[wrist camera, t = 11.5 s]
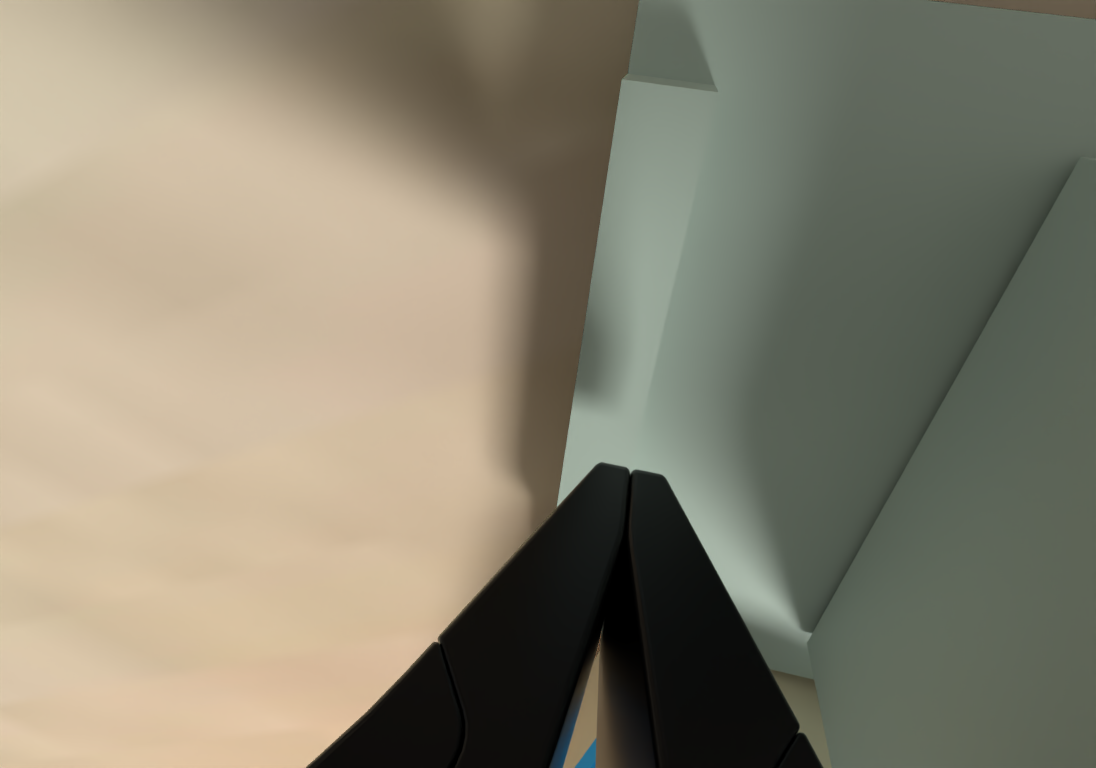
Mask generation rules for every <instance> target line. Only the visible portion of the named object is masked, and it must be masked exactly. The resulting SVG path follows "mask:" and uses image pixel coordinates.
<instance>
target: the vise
mask: <svg viewBox="0 0 1096 768" xmlns="http://www.w3.org/2000/svg"><path fill="white" fill-rule="evenodd" d="M1080 157H1088V158H1095V159H1096V19H1088V18H1079V17H1071V16H1062V15H1053V14H1044V13H1035V12H1027V11H1018V10H1009V9H1000V8H992V7H983V6H974V5H965V4H956V3H948V2H939V1H930V0H639V4H638V10H637V17H636V23H635V30H634V36H633V43H632V49H631V55H630V62H629V68H628V74H627V75H626V76H625V77H624V78H623V79H622V81H621V87H620V94H619V101H618V107H617V114H616V120H615V127H614V133H613V140H612V147H611V153H610V160H609V166H608V173H607V179H606V186H605V193H604V199H603V206H602V212H601V219H600V225H599V232H598V239H597V245H596V252H595V258H594V265H593V272H592V278H591V285H590V291H589V298H588V304H587V311H586V318H585V324H584V331H583V337H582V344H581V350H580V357H579V364H578V370H577V377H576V383H575V390H574V396H573V403H572V410H571V416H570V423H569V429H568V436H567V443H566V449H565V456H564V462H563V469H562V475H561V482H560V489H559V495H558V502H557V507H558V505H559V504H560V503H561V502H562V501H563V500H564V499H565V498H566V497H567V496H568V495H569V493H570V492H571V491H572V490H573V489H574V488H575V487H576V486H577V485H578V484H579V483H580V481H581V480H582V479H583V478H584V477H585V476H586V475H587V474H588V473H589V472H590V471H591V469H592V468H593V467H594V466H595V465H596V464H598V463H600V462H605V463H609V464H614V465H619V466H624V467H627V468H628V469H629V471H630V474H631V472H632V471H633V470H635V469H639V470H643V471H648V472H653V473H658V474H661V475H663V476H664V477H665V478H666V479H667V481H668V483H669V484H670V486H671V488H672V490H673V492H674V494H675V496H676V497H677V499H678V501H679V503H680V505H681V507H682V508H683V510H684V512H685V514H686V516H687V518H688V519H689V521H690V523H691V525H692V527H693V529H694V531H695V532H696V534H697V536H698V538H699V540H700V542H701V543H702V545H703V547H704V549H705V551H706V553H707V554H708V556H709V558H710V560H711V562H712V564H713V566H714V567H715V569H716V571H717V573H718V575H719V577H720V578H721V580H722V582H723V584H724V586H725V588H726V589H727V591H728V593H729V595H730V597H731V599H732V601H733V602H734V604H735V606H736V608H737V610H738V612H739V613H740V615H741V617H742V619H743V621H744V623H745V624H746V626H747V628H748V630H749V632H750V634H751V636H752V637H753V639H754V641H755V643H756V645H757V647H758V648H759V650H760V652H761V654H762V656H763V658H764V659H765V661H766V663H767V665H768V667H769V669H771V670H775V671H780V672H784V673H788V674H792V675H797V676H801V677H805V678H809V679H814V676H813V671H812V666H811V661H810V656H809V651H808V646H807V642H808V640H809V638H810V637H811V635H812V633H813V631H814V630H815V628H816V626H817V624H818V622H819V621H820V619H821V617H822V615H823V614H824V612H825V610H826V608H827V606H828V605H829V603H830V601H831V599H832V598H833V596H834V594H835V592H836V590H837V589H838V587H839V585H840V583H841V582H842V580H843V578H844V576H845V574H846V573H847V571H848V569H849V567H850V566H851V564H852V562H853V560H854V558H855V557H856V555H857V553H858V551H859V550H860V548H861V546H862V544H863V543H864V541H865V539H866V537H867V535H868V534H869V532H870V530H871V528H872V527H873V525H874V523H875V521H876V519H877V518H878V516H879V514H880V512H881V511H882V509H883V507H884V505H885V503H886V502H887V500H888V498H889V496H890V495H891V493H892V491H893V489H894V487H895V486H896V484H897V482H898V480H899V479H900V477H901V475H902V473H903V471H904V470H905V468H906V466H907V464H908V463H909V461H910V459H911V457H912V455H913V454H914V452H915V450H916V448H917V447H918V445H919V443H920V441H921V439H922V438H923V436H924V434H925V432H926V431H927V429H928V427H929V425H930V424H931V422H932V420H933V418H934V416H935V415H936V413H937V411H938V409H939V408H940V406H941V404H942V402H943V400H944V399H945V397H946V395H947V393H948V392H949V390H950V388H951V386H952V384H953V383H954V381H955V379H956V377H957V376H958V374H959V372H960V370H961V368H962V367H963V365H964V363H965V361H966V360H967V358H968V356H969V354H970V352H971V351H972V349H973V347H974V345H975V344H976V342H977V340H978V338H979V336H980V335H981V333H982V331H983V329H984V328H985V326H986V324H987V322H988V320H989V319H990V317H991V315H992V313H993V312H994V310H995V308H996V306H997V305H998V303H999V301H1000V299H1001V297H1002V296H1003V294H1004V292H1005V290H1006V289H1007V287H1008V285H1009V283H1010V281H1011V280H1012V278H1013V276H1014V274H1015V273H1016V271H1017V269H1018V267H1019V265H1020V264H1021V262H1022V260H1023V258H1024V257H1025V255H1026V253H1027V251H1028V249H1029V248H1030V246H1031V244H1032V242H1033V241H1034V239H1035V237H1036V235H1037V233H1038V232H1039V230H1040V228H1041V226H1042V225H1043V223H1044V221H1045V219H1046V217H1047V216H1048V214H1049V212H1050V210H1051V209H1052V207H1053V205H1054V203H1055V201H1056V200H1057V198H1058V196H1059V194H1060V193H1061V191H1062V189H1063V187H1064V186H1065V184H1066V182H1067V180H1068V178H1069V177H1070V175H1071V173H1072V171H1073V170H1074V168H1075V166H1076V164H1077V162H1078V161H1079V159H1080Z"/></svg>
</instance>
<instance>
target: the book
mask: <svg viewBox="0 0 1096 768" xmlns="http://www.w3.org/2000/svg"><path fill="white" fill-rule="evenodd" d="M599 655H600V651H599V653H598V654H597V656H596V658H595V659H594V662H593V665H592V669H591V672H590V676H589V679H588V683H587V686H586V689H585V693H584V696H583V700H582V703H581V707H580V710H579V714H578V717H577V720H576V724H575V727H574V731H573V734H572V738H571V741H570V745H569V748H568V751H567V755H566V758H565V762H564V765H563V768H595V765H596V735H597V706H598V677H599ZM770 670H771V669H770ZM771 672H772V674H773V676H774V678H775V680H776V682H777V683H778V685H779V687H780V689H781V691H782V693H783V694H784V696H785V698H786V700H787V702H788V704H789V705H790V707H791V709H792V711H793V713H794V715H795V717H796V718H797V720H798V722H799V724H800V729H799V731H798V733H799V732H802V733H804V734H805V735H806V736H807V738H808V740H809V742H810V744H811V745H812V747H813V749H814V751H815V753H816V755H817V757H818V759H819V760H820V762H821V764H822V766H823V768H832V766H831V761H830V756H829V751H828V746H827V741H826V736H825V731H824V726H823V721H822V716H821V711H820V706H819V701H818V696H817V691H816V686H815V681H814V679H809V678H805V677H801V676H797V675H792V674H788V673H784V672H780V671H775V670H771Z"/></svg>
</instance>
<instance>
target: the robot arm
mask: <svg viewBox="0 0 1096 768" xmlns="http://www.w3.org/2000/svg"><path fill="white" fill-rule="evenodd" d="M601 630H602V633H601ZM600 635H601V641H600V655H599V677H598V706H597V735H596V765H595V768H823V766H822V764H821V762H820V760H819V759H818V757H817V755H816V753H815V751H814V749H813V747H812V745H811V744H810V742H809V740H808V738H807V736H806V735H805V734H804V733H802V732H799V733H798V731H799V729H800V724H799V722H798V720H797V718H796V717H795V715H794V713H793V711H792V709H791V707H790V705H789V704H788V702H787V700H786V698H785V696H784V694H783V693H782V691H781V689H780V687H779V685H778V683H777V682H776V680H775V678H774V676H773V674H772V672H771V670H770V669H769V667H768V665H767V663H766V661H765V659H764V658H763V656H762V654H761V652H760V650H759V648H758V647H757V645H756V643H755V641H754V639H753V637H752V636H751V634H750V632H749V630H748V628H747V626H746V624H745V623H744V621H743V619H742V617H741V615H740V613H739V612H738V610H737V608H736V606H735V604H734V602H733V601H732V599H731V597H730V595H729V593H728V591H727V589H726V588H725V586H724V584H723V582H722V580H721V578H720V577H719V575H718V573H717V571H716V569H715V567H714V566H713V564H712V562H711V560H710V558H709V556H708V554H707V553H706V551H705V549H704V547H703V545H702V543H701V542H700V540H699V538H698V536H697V534H696V532H695V531H694V529H693V527H692V525H691V523H690V521H689V519H688V518H687V516H686V514H685V512H684V510H683V508H682V507H681V505H680V503H679V501H678V499H677V497H676V496H675V494H674V492H673V490H672V488H671V486H670V484H669V483H668V481H667V479H666V478H665V477H664V476H663V475H661V474H658V473H653V472H648V471H643V470H639V469H635V470H633V471H632V472H631V474H630V471H629V469H628V468H627V467H624V466H619V465H614V464H609V463H605V462H600V463H598V464H596V465H595V466H594V467H593V468H592V469H591V471H590V472H589V473H588V474H587V475H586V476H585V477H584V478H583V479H582V480H581V481H580V483H579V484H578V485H577V486H576V487H575V488H574V489H573V490H572V491H571V492H570V493H569V495H568V496H567V497H566V498H565V499H564V500H563V501H562V502H561V503H560V504H559V505H558V507H557V508H556V509H555V510H554V511H553V512H552V513H551V514H550V515H549V516H548V518H547V519H546V520H545V521H544V522H543V523H542V524H541V525H540V526H539V527H538V528H537V530H536V531H535V532H534V533H533V534H532V535H531V536H530V537H529V538H528V539H527V540H526V542H525V543H524V544H523V545H522V546H521V547H520V548H519V549H518V550H517V551H516V552H515V554H514V555H513V556H512V557H511V558H510V559H509V560H508V561H507V562H506V563H505V564H504V566H503V567H502V568H501V569H500V570H499V571H498V572H497V573H496V574H495V575H494V576H493V578H492V579H491V580H490V581H489V582H488V583H487V584H486V585H485V586H484V587H483V589H482V590H481V591H480V592H479V593H478V594H477V595H476V596H475V597H474V598H473V599H472V601H471V602H470V603H469V604H468V605H467V606H466V607H465V608H464V609H463V610H462V611H461V613H460V614H459V615H458V616H457V617H456V618H455V619H454V620H453V621H452V622H451V623H450V625H449V626H448V627H447V628H446V629H445V630H444V631H443V632H442V633H441V634H440V635H439V637H438V642H433V643H432V644H431V645H430V646H429V647H428V648H427V649H426V650H425V651H424V652H423V654H422V655H421V656H420V657H419V658H418V659H417V660H416V661H415V662H414V663H413V664H412V666H411V667H410V668H409V669H408V670H407V671H406V672H405V673H404V674H403V675H402V676H401V677H400V678H399V679H398V680H397V681H396V682H395V683H394V684H393V685H392V686H391V687H390V688H389V689H388V690H387V691H386V692H385V694H384V695H383V696H382V697H381V698H380V699H379V700H378V701H377V702H376V703H375V704H374V705H373V706H372V707H371V708H370V709H369V710H368V711H367V712H366V713H365V714H364V715H363V716H362V717H361V718H359V719H358V720H357V721H356V722H355V723H354V724H353V725H352V726H351V727H350V728H349V729H347V730H346V731H345V732H344V733H343V734H342V735H341V736H340V737H339V738H338V739H337V740H335V741H334V742H333V743H332V744H331V745H330V746H329V747H328V748H327V749H326V750H325V751H323V752H322V753H321V754H320V755H319V756H318V757H317V758H316V759H315V760H314V761H313V762H311V763H310V764H309V765H308V766H307V767H306V768H563V765H564V762H565V758H566V755H567V751H568V748H569V745H570V741H571V738H572V734H573V731H574V727H575V724H576V720H577V717H578V714H579V710H580V707H581V703H582V700H583V696H584V693H585V689H586V686H587V683H588V679H589V676H590V672H591V669H592V665H593V662H594V658H595V654H596V650H597V647H598V643H599V639H600Z"/></svg>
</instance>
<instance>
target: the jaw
mask: <svg viewBox="0 0 1096 768" xmlns="http://www.w3.org/2000/svg"><path fill="white" fill-rule="evenodd" d="M807 646H808V651H809V656H810V661H811V666H812V671H813V676H814V681H815V686H816V691H817V696H818V701H819V706H820V711H821V716H822V721H823V726H824V731H825V736H826V741H827V746H828V751H829V756H830V761H831V766H832V768H1096V159H1095V158H1088V157H1080V159H1079V161H1078V162H1077V164H1076V166H1075V168H1074V170H1073V171H1072V173H1071V175H1070V177H1069V178H1068V180H1067V182H1066V184H1065V186H1064V187H1063V189H1062V191H1061V193H1060V194H1059V196H1058V198H1057V200H1056V201H1055V203H1054V205H1053V207H1052V209H1051V210H1050V212H1049V214H1048V216H1047V217H1046V219H1045V221H1044V223H1043V225H1042V226H1041V228H1040V230H1039V232H1038V233H1037V235H1036V237H1035V239H1034V241H1033V242H1032V244H1031V246H1030V248H1029V249H1028V251H1027V253H1026V255H1025V257H1024V258H1023V260H1022V262H1021V264H1020V265H1019V267H1018V269H1017V271H1016V273H1015V274H1014V276H1013V278H1012V280H1011V281H1010V283H1009V285H1008V287H1007V289H1006V290H1005V292H1004V294H1003V296H1002V297H1001V299H1000V301H999V303H998V305H997V306H996V308H995V310H994V312H993V313H992V315H991V317H990V319H989V320H988V322H987V324H986V326H985V328H984V329H983V331H982V333H981V335H980V336H979V338H978V340H977V342H976V344H975V345H974V347H973V349H972V351H971V352H970V354H969V356H968V358H967V360H966V361H965V363H964V365H963V367H962V368H961V370H960V372H959V374H958V376H957V377H956V379H955V381H954V383H953V384H952V386H951V388H950V390H949V392H948V393H947V395H946V397H945V399H944V400H943V402H942V404H941V406H940V408H939V409H938V411H937V413H936V415H935V416H934V418H933V420H932V422H931V424H930V425H929V427H928V429H927V431H926V432H925V434H924V436H923V438H922V439H921V441H920V443H919V445H918V447H917V448H916V450H915V452H914V454H913V455H912V457H911V459H910V461H909V463H908V464H907V466H906V468H905V470H904V471H903V473H902V475H901V477H900V479H899V480H898V482H897V484H896V486H895V487H894V489H893V491H892V493H891V495H890V496H889V498H888V500H887V502H886V503H885V505H884V507H883V509H882V511H881V512H880V514H879V516H878V518H877V519H876V521H875V523H874V525H873V527H872V528H871V530H870V532H869V534H868V535H867V537H866V539H865V541H864V543H863V544H862V546H861V548H860V550H859V551H858V553H857V555H856V557H855V558H854V560H853V562H852V564H851V566H850V567H849V569H848V571H847V573H846V574H845V576H844V578H843V580H842V582H841V583H840V585H839V587H838V589H837V590H836V592H835V594H834V596H833V598H832V599H831V601H830V603H829V605H828V606H827V608H826V610H825V612H824V614H823V615H822V617H821V619H820V621H819V622H818V624H817V626H816V628H815V630H814V631H813V633H812V635H811V637H810V638H809V640H808V642H807Z"/></svg>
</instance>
